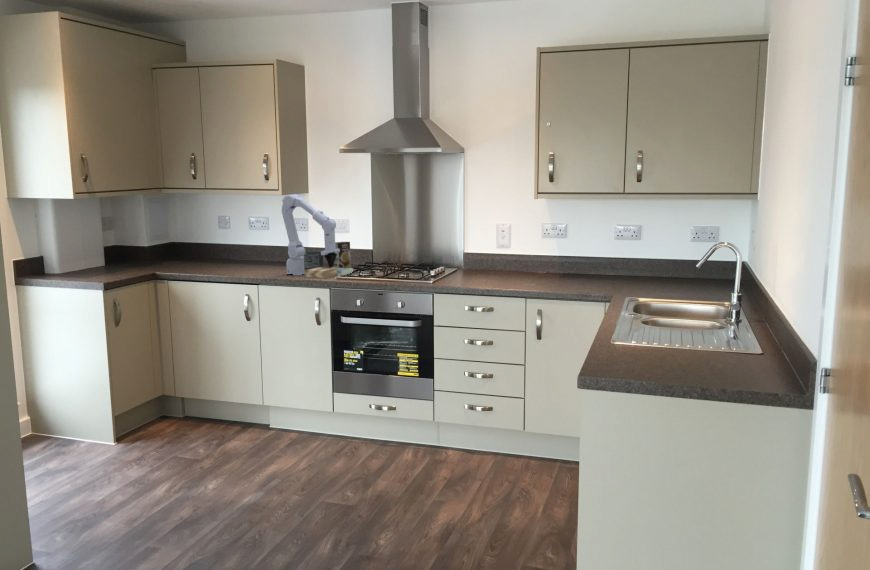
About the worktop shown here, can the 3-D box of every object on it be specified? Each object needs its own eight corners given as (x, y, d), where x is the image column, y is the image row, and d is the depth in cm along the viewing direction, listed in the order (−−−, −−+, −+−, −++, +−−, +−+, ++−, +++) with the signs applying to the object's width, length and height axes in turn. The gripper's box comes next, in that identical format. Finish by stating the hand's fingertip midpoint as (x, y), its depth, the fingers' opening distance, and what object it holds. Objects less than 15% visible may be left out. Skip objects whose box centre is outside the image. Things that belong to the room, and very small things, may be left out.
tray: (321, 274, 400) (321, 270, 399) (333, 271, 409) (333, 267, 409) (342, 275, 393) (342, 271, 393) (353, 273, 403) (353, 268, 402)
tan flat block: (306, 277, 391) (305, 270, 391) (318, 274, 401) (318, 267, 400) (325, 278, 385) (325, 271, 384) (337, 275, 395) (337, 268, 394)
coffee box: (340, 271, 410) (339, 243, 407) (332, 270, 414) (330, 242, 411) (351, 269, 417) (350, 241, 415) (343, 268, 421) (342, 241, 419)
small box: (324, 267, 429) (323, 250, 427) (320, 269, 422) (319, 251, 421) (307, 267, 431) (306, 250, 429) (303, 269, 424) (302, 251, 423)
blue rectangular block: (334, 269, 406) (334, 271, 407) (327, 270, 401) (327, 273, 401) (347, 269, 402) (347, 272, 402) (340, 271, 397) (340, 273, 397)
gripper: (327, 243, 386) (329, 268, 388) (343, 240, 399) (345, 265, 401) (317, 243, 389) (318, 268, 392) (333, 240, 402) (334, 264, 404)
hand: (331, 266), depth 396 cm, fingers closed
